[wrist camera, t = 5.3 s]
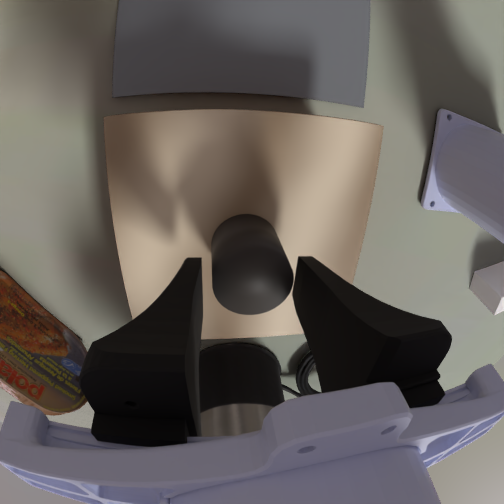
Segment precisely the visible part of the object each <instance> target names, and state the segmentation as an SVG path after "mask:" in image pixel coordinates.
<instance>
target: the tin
mask: <svg viewBox="0 0 504 504" xmlns="http://www.w3.org/2000/svg"><path fill="white" fill-rule="evenodd" d="M86 355H87V350H86V348H85V347H84V345H83V343H82V342H81V340H80V339H79V338H78V337H77V336H76V335H75V333H74V332H73V331H71V330H70V329H69V328H68V327H66V326H65V325H64V324H63V323H61V322H60V321H59V320H58V319H56V318H55V317H54V316H53V315H51V314H50V313H49V312H48V311H47V310H46V309H44V308H43V307H42V306H41V305H40V304H39V303H37V302H36V301H35V300H34V299H33V298H32V297H31V296H30V295H29V294H28V293H27V292H25V291H24V290H23V289H22V288H21V287H20V286H19V285H18V284H17V283H16V282H15V281H14V280H13V279H12V278H11V277H9V276H8V275H7V274H6V273H4V272H3V271H1V270H0V387H1V388H2V389H4V390H5V391H6V392H8V393H9V394H11V395H12V396H13V397H15V398H16V399H18V400H19V401H21V402H22V403H24V404H26V405H30V406H33V407H36V408H38V409H39V410H41V411H42V412H43V413H44V414H45V415H61V414H65V413H70V412H73V411H76V410H78V409H80V408H81V407H82V406H83V405H85V403H86V402H87V399H86V397H85V396H84V394H83V392H82V391H81V388H80V386H79V375H80V372H81V369H82V366H83V363H84V360H85V357H86Z"/></svg>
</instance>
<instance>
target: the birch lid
mask: <svg viewBox="0 0 504 504" xmlns="http://www.w3.org/2000/svg"><path fill="white" fill-rule="evenodd" d="M383 127H384V126H381V125H378V124H373V123H368V122H362V121H356V120H350V119H343V118H336V117H328V116H320V115H311V114H302V113H291V112H278V111H262V110H236V109H193V110H167V111H151V112H139V113H128V114H119V115H110V116H106V117H104V137H105V153H106V166H107V177H108V186H109V195H110V203H111V211H112V218H113V225H114V231H115V237H116V243H117V249H118V255H119V260H120V265H121V270H122V275H123V280H124V285H125V289H126V294H127V298H128V302H129V307H130V311H131V315H132V319H134V318H136V317H137V316H138V315H140V314H141V313H142V312H143V311H145V310H146V309H147V308H148V307H149V306H150V305H151V304H152V303H153V302H154V301H155V300H156V299H157V298H158V297H159V296H160V294H161V293H162V292H163V291H164V290H165V288H166V287H167V286H168V285H169V283H170V282H171V281H172V279H173V278H174V276H175V275H176V274H177V272H178V271H179V269H180V267H181V266H182V264H183V262H184V260H185V259H186V258H187V257H202V284H203V323H202V333H201V339H229V338H250V337H267V336H282V335H294V334H304V332H303V329H302V327H301V324H300V321H299V319H298V316H297V314H296V310H295V306H294V301H293V297H292V291H293V285H294V279H295V273H296V267H297V260H298V256H312V257H314V258H315V259H317V260H318V261H320V262H321V263H322V264H324V265H325V266H326V267H328V268H329V269H330V270H332V271H333V272H334V273H336V274H337V275H339V276H340V277H341V278H343V279H344V280H346V281H347V282H349V283H350V284H352V283H353V279H354V275H355V272H356V268H357V264H358V260H359V256H360V252H361V248H362V243H363V239H364V235H365V230H366V226H367V221H368V216H369V211H370V207H371V202H372V196H373V191H374V186H375V180H376V174H377V168H378V162H379V156H380V149H381V142H382V135H383Z"/></svg>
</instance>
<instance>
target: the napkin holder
mask: <svg viewBox="0 0 504 504" xmlns="http://www.w3.org/2000/svg"><path fill="white" fill-rule="evenodd" d="M469 289H470V290H471V291H472V292H473V293H474V294H475V295H476V296H477V297H478V298H479V299H480V301H481V302H482V303H483V304H484V305H485V306H486V307H487V308H488V309H489V310H490V311H491V312H492V314H493V315H496V314H498V313H500V312H502V311H504V261H503V262H500V263H497V264H494V265H492V266H489V267H486V268H483V269H480V270H477V271H475V272H474V275H473V278H472V281H471V285H470V288H469Z"/></svg>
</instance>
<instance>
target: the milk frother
mask: <svg viewBox="0 0 504 504" xmlns="http://www.w3.org/2000/svg"><path fill="white" fill-rule="evenodd" d="M314 365H315V361H314V358H313V355H312V352H311V351H310V352H309V353H308V354H306V355H305V357H304V358H303V359H302V361H301V362H300V364H299V366H298V369H297V373H296V384H297V387H298V390H299V391H300V393H301V394H300V393H298V392H296V391H294V390H292V389H291V388H289V387H287V386H285V385H283V384H281V379H280V373H281V366H280V364H279V361H278V360H277V358H276V357H275V356H274V355H273V354H272V353H271V352H269V351H267V350H266V349H264V348H261V347H258V346H255V345H251V344H243V343H231V344H223V345H218V346H213V347H210V348H208V349H205V350H203V351H201V352H200V354H199V393H200V415H201V432H202V437H215V436H235V435H240V434H245V433H249V432H254V431H258V430H261V429H262V425H263V420H264V418H265V417H266V416H267V414H268V413H269V412H270V410H271V409H272V408H274V407H275V406H277V405H279V404H281V403H283V402H285V400H284V395H283V390H285V391H287V392H290V393H292V394H293V395H295V396H297V397H301V396H306V395H313V394H320V393H321V392H318V391H315V390H314V389H312V388H311V387H310V386H309V383H308V375H309V373H310V371H311V369H312V367H313V366H314Z"/></svg>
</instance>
